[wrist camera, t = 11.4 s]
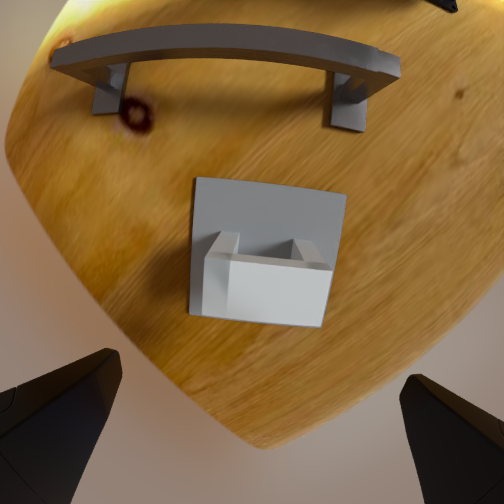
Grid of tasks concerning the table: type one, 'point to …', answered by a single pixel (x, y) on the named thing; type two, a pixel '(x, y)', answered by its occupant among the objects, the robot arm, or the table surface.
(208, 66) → the table surface
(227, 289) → the c link
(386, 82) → the stand
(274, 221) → the mat
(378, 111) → the table surface
